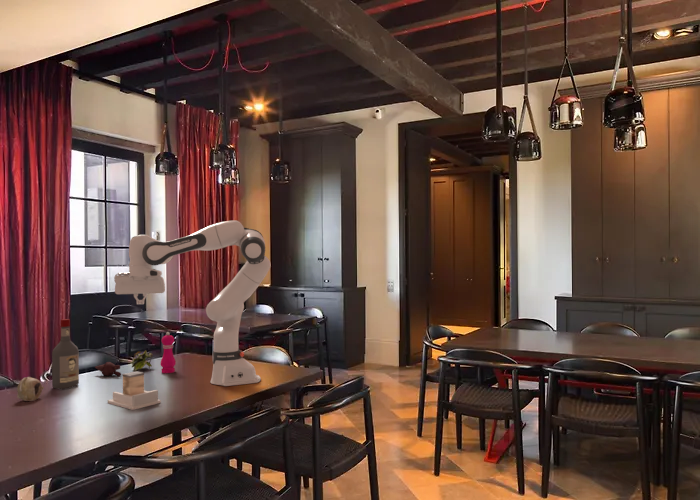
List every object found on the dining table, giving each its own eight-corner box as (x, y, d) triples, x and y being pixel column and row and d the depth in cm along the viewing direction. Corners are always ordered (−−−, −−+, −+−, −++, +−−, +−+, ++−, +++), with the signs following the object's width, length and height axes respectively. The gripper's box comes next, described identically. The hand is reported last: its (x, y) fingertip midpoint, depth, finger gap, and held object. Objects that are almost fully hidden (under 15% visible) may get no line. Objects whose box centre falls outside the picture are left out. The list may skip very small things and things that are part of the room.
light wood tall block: (122, 400, 213) (122, 374, 213) (136, 396, 218) (136, 371, 218) (130, 402, 210) (129, 375, 210) (144, 398, 215) (144, 372, 215)
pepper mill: (171, 373, 267) (170, 333, 267) (157, 373, 268) (157, 332, 268) (178, 370, 274) (178, 331, 274) (165, 370, 275) (165, 330, 275)
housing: (107, 402, 214) (107, 390, 214) (135, 396, 224) (135, 384, 224) (132, 409, 204) (132, 396, 204) (160, 402, 214) (160, 389, 214)
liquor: (49, 387, 241) (49, 320, 241) (68, 383, 249) (68, 318, 249) (62, 390, 237) (62, 321, 237) (81, 385, 245) (81, 318, 245)
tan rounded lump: (21, 408, 217) (12, 387, 214) (20, 400, 224) (11, 379, 221) (46, 398, 221) (38, 376, 218) (45, 390, 228) (37, 369, 225)
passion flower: (137, 379, 280) (142, 358, 287) (156, 376, 278) (160, 354, 285) (124, 370, 271) (129, 348, 278) (143, 367, 269) (147, 345, 276)
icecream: (88, 363, 262) (114, 367, 258) (99, 357, 269) (125, 361, 265) (90, 376, 264) (116, 381, 260) (101, 369, 271) (126, 374, 267)
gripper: (112, 273, 229) (113, 305, 229) (163, 272, 234) (164, 304, 234) (115, 272, 235) (115, 304, 235) (165, 271, 240) (165, 302, 240)
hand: (140, 304), depth 235 cm, fingers closed
